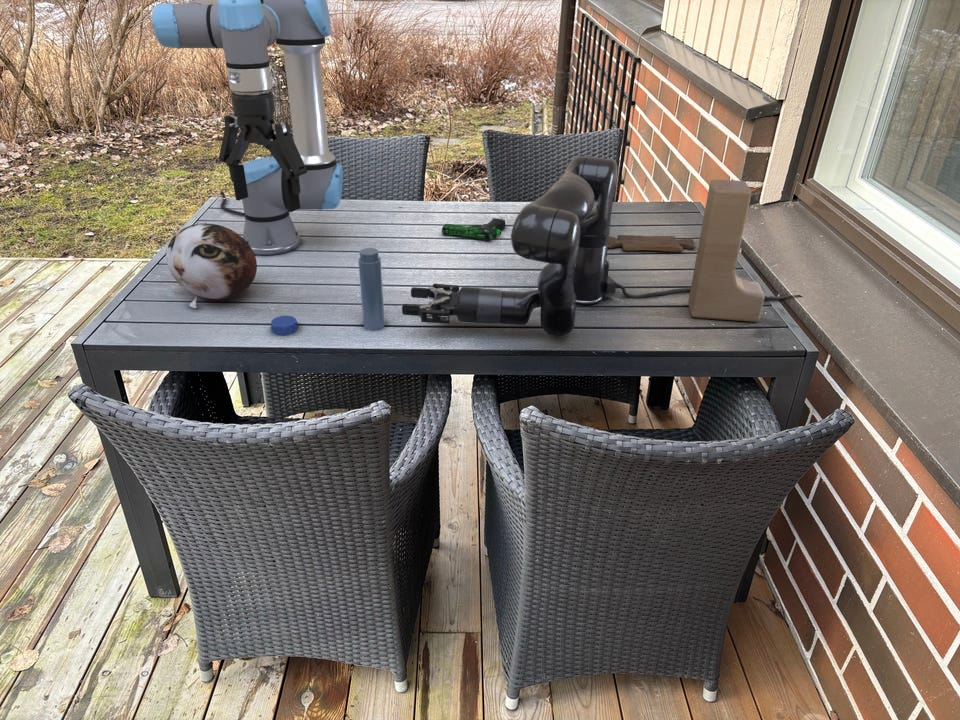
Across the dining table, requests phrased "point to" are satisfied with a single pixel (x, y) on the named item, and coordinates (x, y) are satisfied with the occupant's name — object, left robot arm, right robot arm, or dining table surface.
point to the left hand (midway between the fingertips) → (267, 204)
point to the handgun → (476, 230)
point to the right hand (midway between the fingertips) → (406, 300)
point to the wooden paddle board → (650, 243)
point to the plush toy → (211, 261)
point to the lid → (284, 325)
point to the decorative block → (723, 258)
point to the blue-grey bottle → (371, 289)
